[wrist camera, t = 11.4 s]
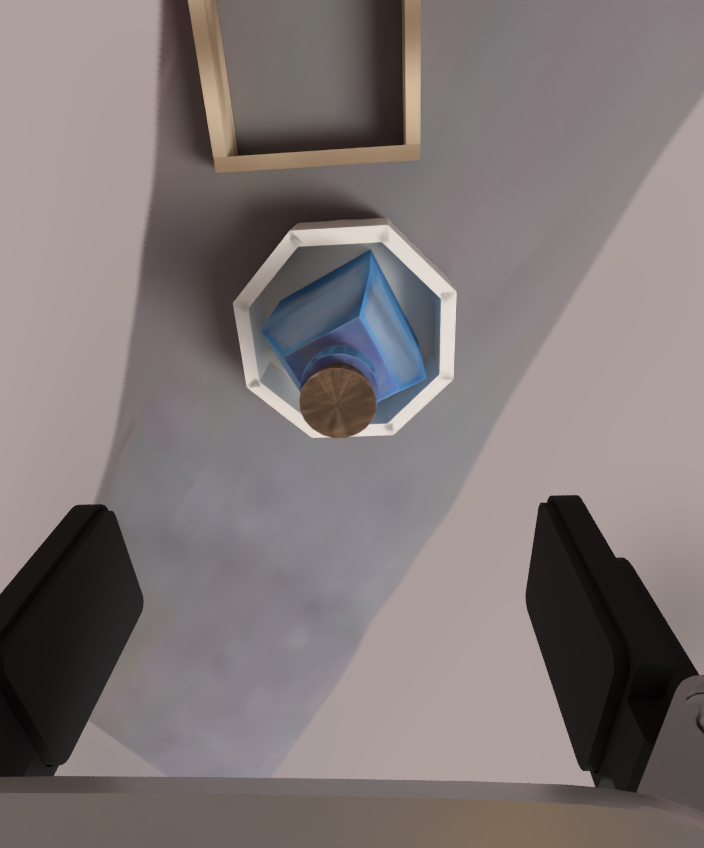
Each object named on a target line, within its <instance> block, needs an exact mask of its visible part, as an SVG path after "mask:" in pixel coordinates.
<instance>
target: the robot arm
mask: <svg viewBox="0 0 704 848" xmlns="http://www.w3.org/2000/svg"><path fill="white" fill-rule="evenodd" d="M526 605H527V610H528V613H529V616H530V619H531V623H532V626H533V629H534V632H535V635H536V637H537V641H538V644H539V647H540V650H541V653H542V656H543V659H544V662H545V665H546V668H547V671H548V674H549V677H550V680H551V683H552V686H553V689H554V692H555V695H556V698H557V701H558V704H559V708H560V711H561V714H562V717H563V720H564V723H565V726H566V729H567V732H568V735H569V738H570V741H571V744H572V747H573V750H574V753H575V756H576V759H577V762H578V764H579V766H580V768H581V769H582V770H583V771H590V773H591V775H592V778H593V781H594V784H595V787H586V786H574V785H559V784H531V783H504V782H476V781H475V782H474V781H422V780H421V781H420V780H366V779H363V780H362V779H301V778H300V779H299V778H298V779H297V778H219V777H94V776H92V777H90V776H85V777H84V776H54V774H55V772H56V770H57V768H58V766H59V765H62V764H64V763H65V762H66V761H67V760H68V759H69V757H70V755H71V753H72V751H73V749H74V747H75V745H76V743H77V741H78V739H79V737H80V735H81V733H82V731H83V729H84V727H85V725H86V723H87V721H88V719H89V717H90V715H91V713H92V711H93V709H94V707H95V705H96V703H97V701H98V699H99V697H100V695H101V693H102V691H103V689H104V687H105V685H106V683H107V681H108V679H109V677H110V675H111V673H112V671H113V669H114V667H115V665H116V663H117V661H118V659H119V657H120V655H121V653H122V651H123V649H124V647H125V645H126V643H127V641H128V639H129V637H130V635H131V633H132V631H133V629H134V627H135V625H136V623H137V621H138V619H139V617H140V615H141V612H142V609H143V595H142V592H141V589H140V586H139V583H138V580H137V577H136V574H135V571H134V568H133V565H132V562H131V560H130V557H129V554H128V551H127V548H126V545H125V542H124V539H123V536H122V533H121V530H120V527H119V524H118V521H117V518H116V516H115V514H114V512H113V511H108V509H107V507H106V506H105V505H102V504H95V505H76V506H74V507H73V508H72V509H71V510H70V511H69V512H68V514H67V515H66V516H65V517H64V518H63V520H62V521H61V522H60V523H59V524H58V526H57V527H56V528H55V529H54V530H53V532H52V533H51V534H50V535H49V536H48V538H47V539H46V540H45V541H44V543H43V544H42V545H41V546H40V547H39V548H38V550H37V551H36V552H35V553H34V554H33V556H32V557H31V558H30V559H29V560H28V562H27V563H26V564H25V565H24V566H23V568H22V569H21V570H20V571H19V572H18V574H17V575H16V576H15V577H14V579H13V580H12V581H11V582H10V583H9V585H8V586H7V587H6V588H5V589H4V590H3V592H2V593H1V594H0V848H704V675H699V674H698V672H697V670H696V669H695V667H694V666H693V664H692V662H691V661H690V659H689V657H688V656H687V654H686V652H685V651H684V649H683V648H682V646H681V644H680V643H679V641H678V640H677V638H676V636H675V635H674V633H673V632H672V630H671V628H670V626H669V625H668V623H667V622H666V620H665V618H664V617H663V615H662V613H661V612H660V610H659V608H658V607H657V605H656V604H655V602H654V600H653V599H652V597H651V596H650V594H649V592H648V591H647V589H646V587H645V586H644V584H643V583H642V581H641V579H640V577H639V576H638V575H637V573H636V571H635V569H634V568H633V566H632V565H631V564H630V562H629V561H628V560H626V559H625V558H616V557H615V555H614V554H613V552H612V550H611V549H610V547H609V545H608V544H607V542H606V540H605V538H604V537H603V535H602V533H601V532H600V530H599V528H598V527H597V525H596V523H595V521H594V520H593V518H592V516H591V514H590V513H589V511H588V509H587V508H586V506H585V504H584V503H583V501H582V499H581V498H580V497H579V496H577V495H566V496H564V495H562V496H550V497H549V498H548V501H547V503H540V505H539V508H538V515H537V522H536V528H535V536H534V542H533V548H532V555H531V561H530V568H529V575H528V582H527V588H526Z"/></svg>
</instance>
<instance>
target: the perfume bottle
mask: <svg viewBox="0 0 704 848" xmlns="http://www.w3.org/2000/svg"><path fill="white" fill-rule="evenodd" d="M261 333H262V334H263V336H264V337H265V339H266V341H267V342H268V344H269V345H270V347H271V348H272V350H273V351H274V353H275V354H276V356H277V357H278V359H279V361H280V362H281V364H282V365H283V367H284V368H285V370H286V371H287V373H288V374H289V376H290V378H291V379H292V381H293V382H294V384H295V385H296V387H297V388H298V390H299V391H300V398H299V404H300V411H301V413H302V416H303V418H304V420H305V421H306V423H307V424H308V425H309V426H310V427H311V428H312V429H313V430H315V431H317V432H318V433H320V434H322V435H324V436H328V437H332V438H347V437H350V436H353V435H357V434H358V433H360V432H361V431H363V430H364V429H366V428H367V426H368V425H369V424H370V422H371V421H372V420H373V418H374V415H375V412H376V406H377V403H378V402H379V401H381V400H383V399H385V398H388V397H390V396H392V395H394V394H396V393H398V392H400V391H402V390H404V389H406V388H408V387H410V386H413V385H415V384H417V383H419V382H421V381H423V380H425V379H427V377H426V373H425V369H424V365H423V360H422V356H421V352H420V348H419V343H418V340H417V338H416V336H415V334H414V332H413V330H412V328H411V326H410V324H409V322H408V320H407V318H406V316H405V315H404V313H403V311H402V309H401V307H400V305H399V303H398V301H397V299H396V297H395V295H394V293H393V291H392V289H391V287H390V285H389V283H388V281H387V279H386V278H385V276H384V274H383V272H382V270H381V268H380V266H379V264H378V262H377V260H376V258H375V256H374V254H373V252H372V250H371V249H370V250H369V251H367V252H365V253H363V254H361V255H360V256H358V257H356V258H354V259H353V260H351V261H349V262H347V263H346V264H344V265H342V266H340V267H339V268H337V269H335V270H333V271H332V272H330V273H328V274H326V275H324V276H323V277H321V278H319V279H317V280H316V281H314V282H312V283H310V284H309V285H307V286H305V287H303V288H302V289H300V290H298V291H296V292H295V293H293V294H291V295H289V296H287V297H286V298H284V299H282V300H281V301H280V302H279V304H278V305H277V307H276V308H275V310H274V311H273V313H272V314H271V316H270V317H269V319H268V321H267V322H266V324H265V325H264V327H263V328H262V330H261Z"/></svg>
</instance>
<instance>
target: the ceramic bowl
mask: <svg viewBox="0 0 704 848" xmlns="http://www.w3.org/2000/svg"><path fill="white" fill-rule="evenodd" d="M370 249H371V250H372V252H373V254H374V256H375V258H376V260H377V262H378V264H379V266H380V268H381V270H382V272H383V274H384V276H385V278H386V279H387V281H388V283H389V285H390V287H391V289H392V291H393V293H394V295H395V297H396V299H397V301H398V303H399V305H400V307H401V309H402V311H403V313H404V315H405V316H406V318H407V320H408V322H409V324H410V326H411V328H412V330H413V332H414V334H415V336H416V338H417V340H418V343H419V348H420V352H421V356H422V360H423V365H424V369H425V373H426V377H427V379H425V380H423V381H421V382H419V383H417V384H415V385H413V386H410V387H408V388H406V389H404V390H402V391H400V392H398V393H396V394H394V395H392V396H390V397H388V398H385V399H383V400H381V401H379V402H378V403H377V406H376V412H375V415H374V418H373V420H372V421H371V422H370V424H369V425H368V426H367V428H366V429H364V430H363V431H361V432H360V433H358V434H357V435H353V436H381V435H394V434H395V433H396V432H397V431H398V430H399V429H400V428H401V427H402V426H404V425H405V424H406V423H407V422H408V421H409V420H410V419H411V418H412V417H413V416H414V415H415V414H416V413H418V412H419V411H420V410H421V409H422V408H423V407H424V406H425V405H426V404H427V403H428V402H429V401H430V400H432V399H433V398H434V397H435V396H436V395H437V394H438V393H439V392H440V391H441V390H442V389H443V388H444V387H446V386H447V385H448V384H449V383H450V382H451V381H452V380H453V377H454V348H455V320H456V290H455V288H454V287H453V285H452V284H451V282H450V280H449V279H448V278H447V277H446V276H445V275H444V274H443V273H442V272H441V271H440V270H439V269H438V268H437V267H436V266H435V265H434V264H433V263H432V262H431V261H430V260H429V259H428V258H427V257H426V256H425V255H424V254H423V253H422V252H421V251H420V250H419V248H418V247H417V246H415V245H414V244H413V243H412V242H411V241H410V240H409V239H408V238H407V237H406V236H405V235H404V234H403V233H402V232H401V231H400V230H399V229H397V228H396V227H395V226H394V225H393V224H392V223H391V222H390V221H389V220H388V219H387V218H374V219H340V220H333V221H322V222H305V223H297V224H296V225H295V226H294V227H293V228H292V229H291V230H290V231H289V232H288V233H287V235H286V236H285V237H284V238H283V240H282V241H281V242H280V244H279V245H278V246H277V247H276V249H275V250H274V251H273V252H272V254H271V255H270V256H269V258H268V259H267V260H266V261H265V263H264V264H263V265H262V266H261V268H260V269H259V270H258V272H257V273H256V274H255V275H254V277H253V278H252V279H251V280H250V282H249V283H248V284H247V286H246V287H245V288H244V289H243V291H242V292H241V293H240V294H239V296H238V297H237V298H236V300H235V301H234V302H233V307H234V313H235V319H236V325H237V331H238V337H239V343H240V349H241V355H242V361H243V367H244V373H245V379H246V385H247V388H248V389H250V390H251V391H252V392H254V393H255V394H256V395H257V396H259V397H260V398H261V399H263V400H264V401H265V402H266V403H268V404H269V405H270V406H272V407H273V408H274V409H275V410H277V411H278V412H279V413H281V414H282V415H283V416H285V417H286V418H287V419H288V420H290V421H291V422H292V423H294V424H295V425H296V426H297V427H299V428H300V429H301V430H303V431H304V432H305V433H306V434H308V435H309V436H310V437H312V438H320V437H328V436H324V435H322V434H320V433H318V432H317V431H315V430H313V429H312V428H311V427H310V426H309V425H308V424H307V423H306V421H305V420H304V418H303V416H302V413H301V411H300V404H299V398H300V391H299V390H298V388H297V387H296V385H295V384H294V382H293V381H292V379H291V378H290V376H289V374H288V373H287V371H286V370H285V368H284V367H283V365H282V364H281V362H280V361H279V359H278V357H277V356H276V354H275V353H274V351H273V350H272V348H271V347H270V345H269V344H268V342H267V341H266V339H265V337H264V336H263V334H262V333H261V330H262V328H263V327H264V325H265V324H266V322H267V321H268V319H269V317H270V316H271V314H272V313H273V311H274V310H275V308H276V307H277V305H278V304H279V302H280V301H281V300H282V299H284V298H286V297H287V296H289V295H291V294H293V293H295V292H296V291H298V290H300V289H302V288H303V287H305V286H307V285H309V284H310V283H312V282H314V281H316V280H317V279H319V278H321V277H323V276H324V275H326V274H328V273H330V272H332V271H333V270H335V269H337V268H339V267H340V266H342V265H344V264H346V263H347V262H349V261H351V260H353V259H354V258H356V257H358V256H360V255H361V254H363V253H365V252H367V251H369V250H370Z"/></svg>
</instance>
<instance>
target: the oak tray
mask: <svg viewBox="0 0 704 848" xmlns="http://www.w3.org/2000/svg"><path fill="white" fill-rule="evenodd" d="M188 4H189V11H190V17H191V23H192V29H193V35H194V41H195V48H196V54H197V60H198V66H199V72H200V78H201V85H202V91H203V97H204V103H205V109H206V116H207V122H208V128H209V134H210V140H211V146H212V153H213V159H214V165H215V171H216V173H224V172H239V171H255V170H270V169H285V168H301V167H316V166H332V165H347V164H362V163H378V162H393V161H408V160H420V34H421V0H402V60H403V145H395V146H380V147H365V148H350V149H335V150H320V151H305V152H290V153H275V154H260V155H245V156H238V150H237V143H236V135H235V128H234V121H233V114H232V107H231V100H230V93H229V86H228V79H227V72H226V65H225V58H224V51H223V44H222V37H221V30H220V23H219V16H218V9H217V2H216V0H188Z"/></svg>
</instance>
